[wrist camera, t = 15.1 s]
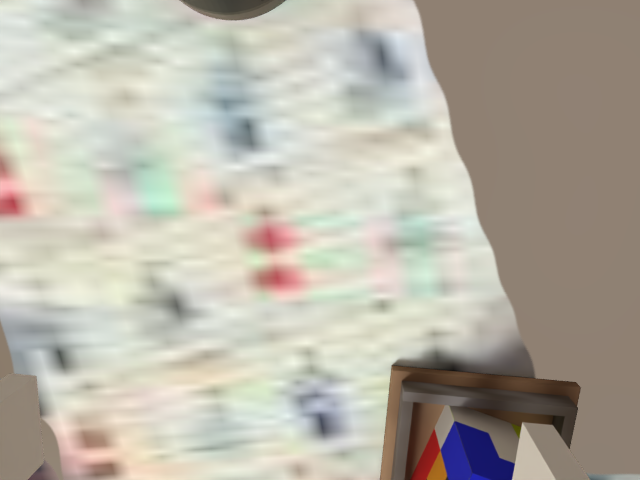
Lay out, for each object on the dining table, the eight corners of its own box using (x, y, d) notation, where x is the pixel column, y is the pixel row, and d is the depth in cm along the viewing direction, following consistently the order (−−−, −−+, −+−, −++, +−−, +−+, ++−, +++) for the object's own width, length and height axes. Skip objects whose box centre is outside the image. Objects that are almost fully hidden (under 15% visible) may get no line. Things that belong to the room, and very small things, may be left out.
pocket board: (376, 515, 50) (377, 538, 47) (391, 365, 46) (394, 380, 43) (544, 533, 49) (557, 559, 46) (575, 382, 45) (591, 399, 42)
